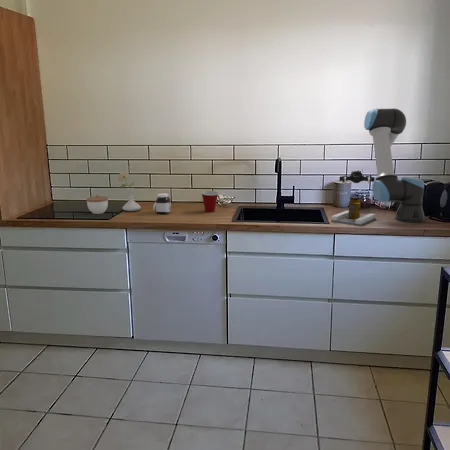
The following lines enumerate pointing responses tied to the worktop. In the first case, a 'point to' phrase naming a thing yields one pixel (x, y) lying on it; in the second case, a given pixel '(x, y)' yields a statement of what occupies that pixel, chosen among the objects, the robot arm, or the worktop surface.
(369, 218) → the grey tray with rails
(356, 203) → the condiment
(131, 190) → the flower in vase
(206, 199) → the plastic cup
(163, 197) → the spread jar
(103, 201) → the lidded bowl
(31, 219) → the worktop surface
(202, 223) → the worktop surface
